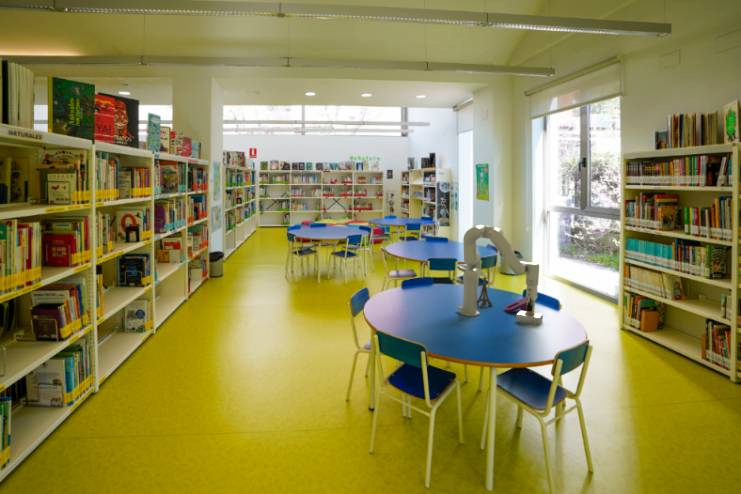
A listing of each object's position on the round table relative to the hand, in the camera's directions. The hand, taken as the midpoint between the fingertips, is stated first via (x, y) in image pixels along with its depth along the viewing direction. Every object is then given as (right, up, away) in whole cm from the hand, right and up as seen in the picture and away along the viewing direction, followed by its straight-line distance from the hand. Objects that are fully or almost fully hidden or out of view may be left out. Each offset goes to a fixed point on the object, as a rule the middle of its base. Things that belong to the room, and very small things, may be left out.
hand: (530, 309), depth 286 cm
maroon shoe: (0, -5, +23) cm, 24 cm away
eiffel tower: (-21, -2, +37) cm, 43 cm away
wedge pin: (0, -3, 0) cm, 3 cm away
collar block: (0, -8, +1) cm, 8 cm away
